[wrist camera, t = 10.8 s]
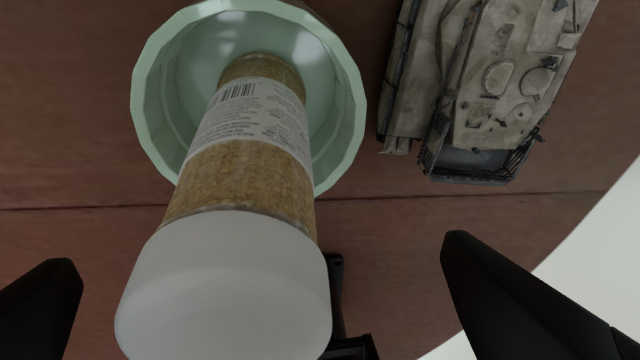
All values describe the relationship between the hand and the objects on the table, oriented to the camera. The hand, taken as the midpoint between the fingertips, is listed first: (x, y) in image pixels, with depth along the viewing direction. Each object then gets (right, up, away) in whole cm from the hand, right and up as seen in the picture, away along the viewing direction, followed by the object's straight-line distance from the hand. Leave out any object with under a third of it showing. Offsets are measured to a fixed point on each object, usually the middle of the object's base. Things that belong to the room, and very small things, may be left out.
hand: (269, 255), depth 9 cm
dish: (-2, +7, +10) cm, 12 cm away
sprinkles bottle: (-2, +6, +10) cm, 12 cm away
